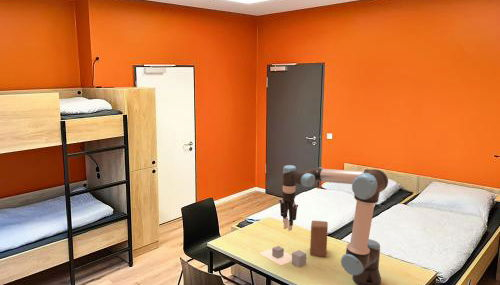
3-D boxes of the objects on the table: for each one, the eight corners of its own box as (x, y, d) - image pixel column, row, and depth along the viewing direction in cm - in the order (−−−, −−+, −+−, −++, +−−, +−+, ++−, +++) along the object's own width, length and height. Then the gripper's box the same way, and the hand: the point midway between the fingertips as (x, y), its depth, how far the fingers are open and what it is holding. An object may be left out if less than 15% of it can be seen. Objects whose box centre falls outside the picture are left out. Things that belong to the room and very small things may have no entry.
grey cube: (283, 256, 239) (283, 248, 238) (277, 258, 236) (277, 250, 235) (277, 253, 243) (278, 245, 242) (272, 255, 240) (272, 248, 239)
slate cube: (305, 264, 230) (306, 253, 228) (299, 267, 226) (299, 256, 224) (298, 260, 234) (299, 250, 233) (291, 263, 230) (292, 252, 229)
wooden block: (326, 257, 238) (327, 227, 235) (309, 256, 240) (311, 225, 236) (326, 250, 248) (327, 221, 244) (310, 248, 250) (311, 219, 246)
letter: (297, 258, 236) (297, 258, 236) (281, 266, 227) (281, 265, 227) (274, 247, 251) (275, 247, 251) (258, 253, 242) (258, 253, 242)
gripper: (303, 193, 222) (302, 232, 226) (283, 187, 234) (282, 223, 238) (294, 196, 217) (293, 235, 221) (274, 189, 229) (274, 226, 233)
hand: (287, 229), depth 230 cm, fingers open, 3 cm apart
